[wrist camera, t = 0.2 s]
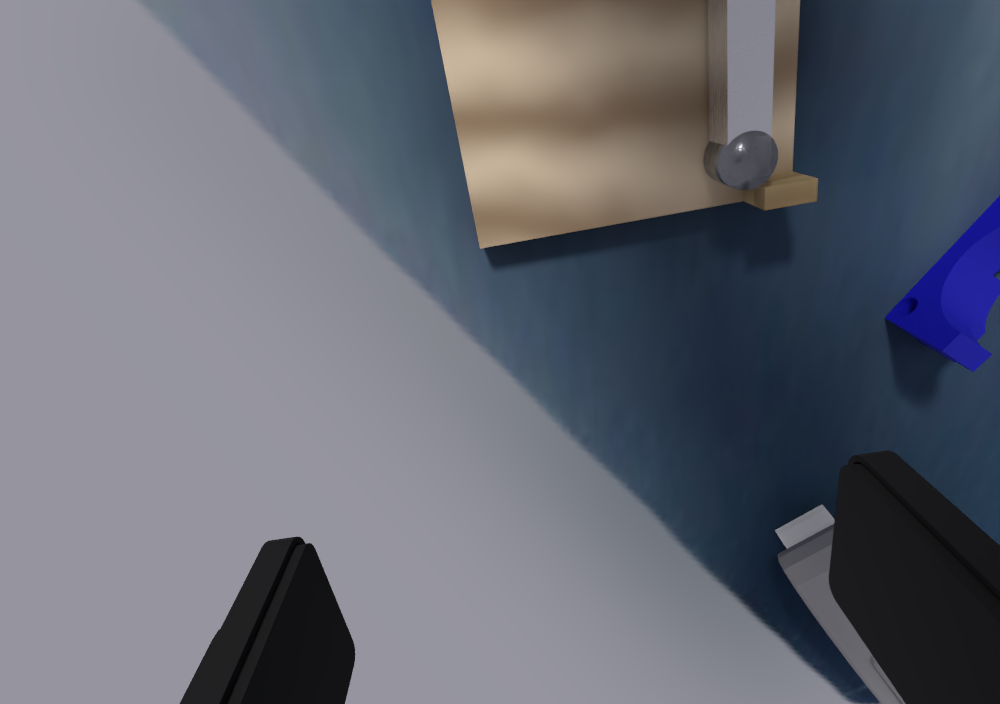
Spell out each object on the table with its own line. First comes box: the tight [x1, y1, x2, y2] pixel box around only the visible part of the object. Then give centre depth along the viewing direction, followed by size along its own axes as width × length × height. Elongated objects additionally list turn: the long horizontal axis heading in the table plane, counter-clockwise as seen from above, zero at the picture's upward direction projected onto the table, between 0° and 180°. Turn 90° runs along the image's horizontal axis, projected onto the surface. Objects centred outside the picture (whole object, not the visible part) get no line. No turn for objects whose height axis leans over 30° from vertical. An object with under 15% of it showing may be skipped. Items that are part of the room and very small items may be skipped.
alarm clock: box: [775, 504, 905, 704], centre depth 46 cm, size 23×6×13 cm, turn 39°
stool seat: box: [431, 0, 818, 249], centre depth 32 cm, size 14×20×5 cm
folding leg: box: [703, 0, 778, 190], centre depth 30 cm, size 13×3×3 cm, turn 10°
